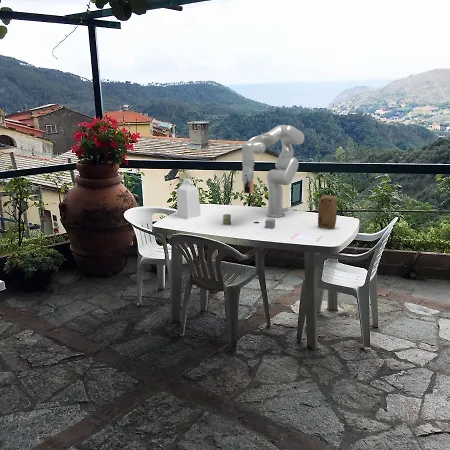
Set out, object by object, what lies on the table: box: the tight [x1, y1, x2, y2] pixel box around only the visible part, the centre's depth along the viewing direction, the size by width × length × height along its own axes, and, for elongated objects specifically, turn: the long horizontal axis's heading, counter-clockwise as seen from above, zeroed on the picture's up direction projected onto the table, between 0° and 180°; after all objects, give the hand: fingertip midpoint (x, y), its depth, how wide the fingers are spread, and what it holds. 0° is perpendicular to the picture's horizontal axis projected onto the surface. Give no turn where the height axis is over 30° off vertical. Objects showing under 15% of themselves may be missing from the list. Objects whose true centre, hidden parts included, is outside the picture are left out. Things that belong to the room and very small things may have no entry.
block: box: [317, 194, 338, 230], centre depth 277 cm, size 11×8×20 cm
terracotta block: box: [243, 181, 255, 195], centre depth 286 cm, size 5×5×7 cm
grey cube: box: [264, 218, 276, 230], centre depth 283 cm, size 5×5×5 cm
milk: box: [176, 178, 202, 220], centre depth 313 cm, size 12×12×26 cm
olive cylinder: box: [222, 213, 232, 226], centre depth 293 cm, size 5×5×6 cm
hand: (248, 191), depth 287 cm, fingers closed on terracotta block, 5 cm apart
